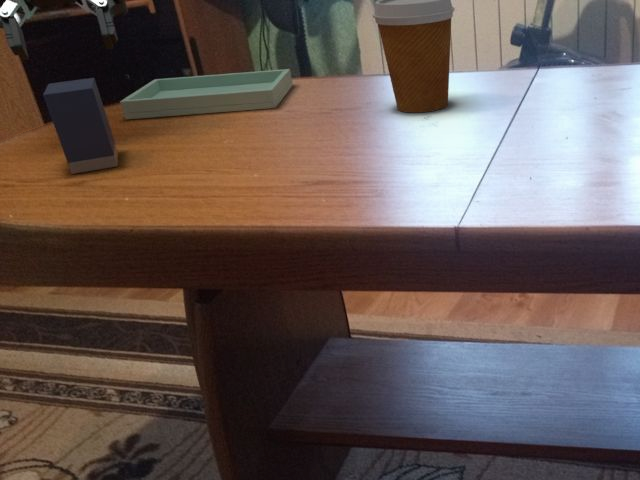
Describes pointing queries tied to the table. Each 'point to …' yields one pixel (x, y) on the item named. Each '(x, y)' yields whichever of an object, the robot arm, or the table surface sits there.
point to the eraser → (81, 125)
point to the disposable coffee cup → (417, 51)
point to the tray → (208, 94)
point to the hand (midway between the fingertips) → (65, 49)
